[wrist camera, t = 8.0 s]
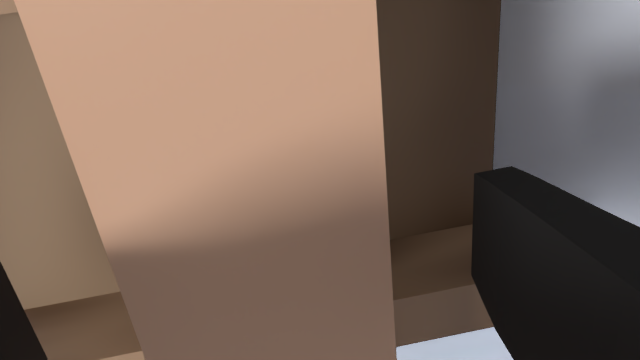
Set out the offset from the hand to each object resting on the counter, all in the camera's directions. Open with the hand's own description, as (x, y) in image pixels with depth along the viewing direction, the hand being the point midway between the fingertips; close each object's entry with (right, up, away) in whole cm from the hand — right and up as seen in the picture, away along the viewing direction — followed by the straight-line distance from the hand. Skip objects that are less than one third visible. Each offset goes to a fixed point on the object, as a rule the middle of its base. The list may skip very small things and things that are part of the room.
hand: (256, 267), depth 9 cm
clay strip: (0, +2, +2) cm, 3 cm away
